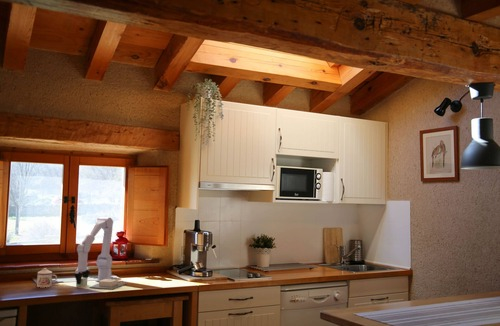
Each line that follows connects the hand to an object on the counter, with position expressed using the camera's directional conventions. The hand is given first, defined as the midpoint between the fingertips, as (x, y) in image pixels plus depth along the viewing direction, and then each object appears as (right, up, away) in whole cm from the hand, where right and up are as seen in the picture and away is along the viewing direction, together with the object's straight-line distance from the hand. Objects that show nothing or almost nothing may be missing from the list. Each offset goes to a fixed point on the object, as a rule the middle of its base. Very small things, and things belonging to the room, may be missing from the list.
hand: (81, 283), depth 326 cm
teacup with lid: (-21, -1, -6) cm, 22 cm away
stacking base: (+17, -2, 0) cm, 18 cm away
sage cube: (0, -2, 0) cm, 2 cm away
